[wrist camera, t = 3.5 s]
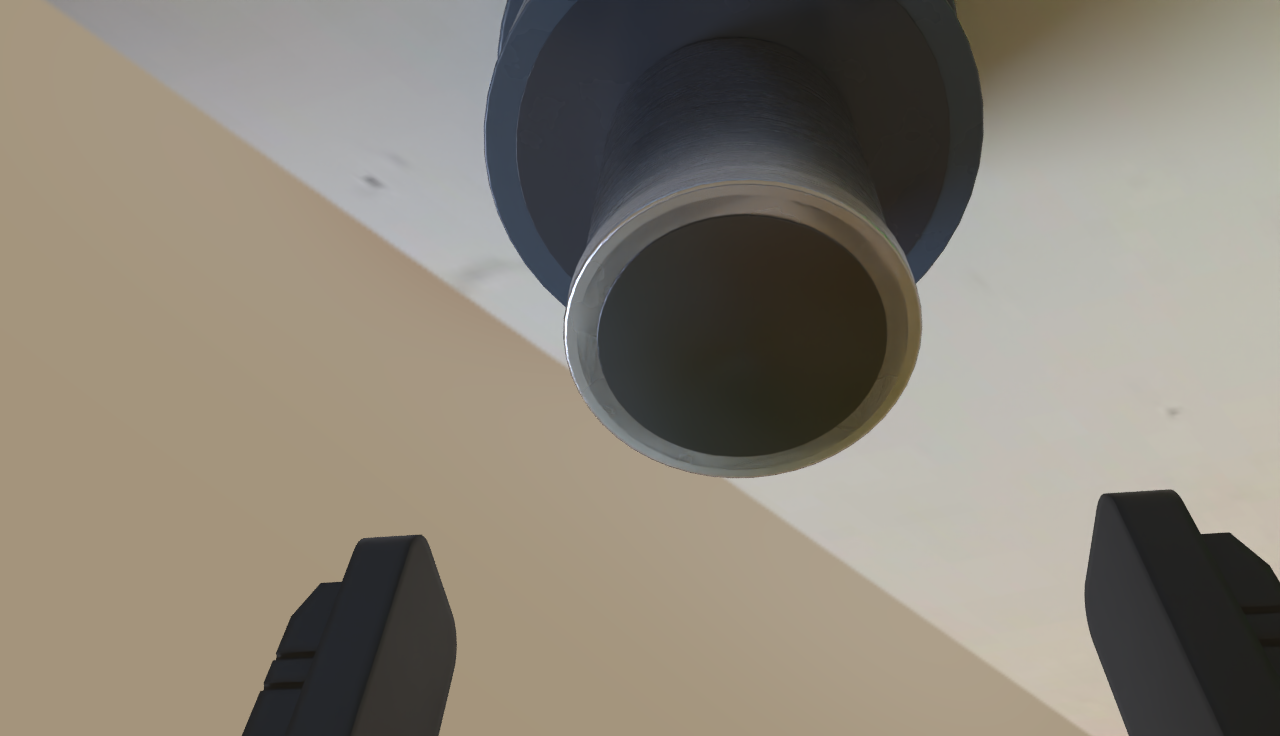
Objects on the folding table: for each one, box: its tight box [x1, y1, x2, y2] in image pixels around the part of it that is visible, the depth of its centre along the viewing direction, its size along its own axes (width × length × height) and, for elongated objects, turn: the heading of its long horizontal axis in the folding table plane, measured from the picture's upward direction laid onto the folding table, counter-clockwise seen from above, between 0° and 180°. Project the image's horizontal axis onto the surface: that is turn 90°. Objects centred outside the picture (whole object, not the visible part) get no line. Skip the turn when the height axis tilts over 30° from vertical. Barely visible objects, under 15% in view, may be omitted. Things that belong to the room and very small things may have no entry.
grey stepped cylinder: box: [484, 0, 983, 307], centre depth 27 cm, size 12×12×10 cm
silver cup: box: [563, 37, 922, 478], centre depth 20 cm, size 6×6×7 cm
